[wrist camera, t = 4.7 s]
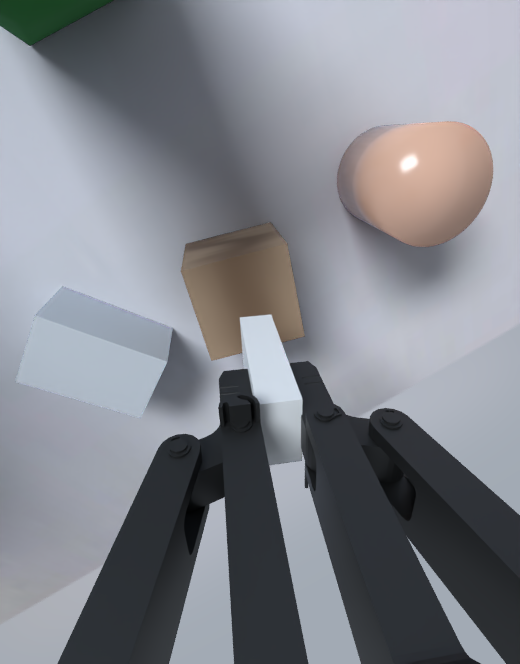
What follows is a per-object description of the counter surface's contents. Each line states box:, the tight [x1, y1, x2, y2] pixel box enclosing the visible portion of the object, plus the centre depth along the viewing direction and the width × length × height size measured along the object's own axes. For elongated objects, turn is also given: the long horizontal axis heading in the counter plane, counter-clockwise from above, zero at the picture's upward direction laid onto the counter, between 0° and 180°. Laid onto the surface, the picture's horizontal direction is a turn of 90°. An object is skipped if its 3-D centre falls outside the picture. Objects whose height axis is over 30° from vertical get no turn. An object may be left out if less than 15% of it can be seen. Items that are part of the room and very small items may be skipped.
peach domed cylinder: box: [337, 121, 493, 247], centre depth 22 cm, size 6×6×7 cm
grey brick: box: [15, 286, 173, 418], centre depth 26 cm, size 8×5×5 cm, turn 63°
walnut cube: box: [181, 222, 305, 361], centre depth 25 cm, size 6×6×6 cm
